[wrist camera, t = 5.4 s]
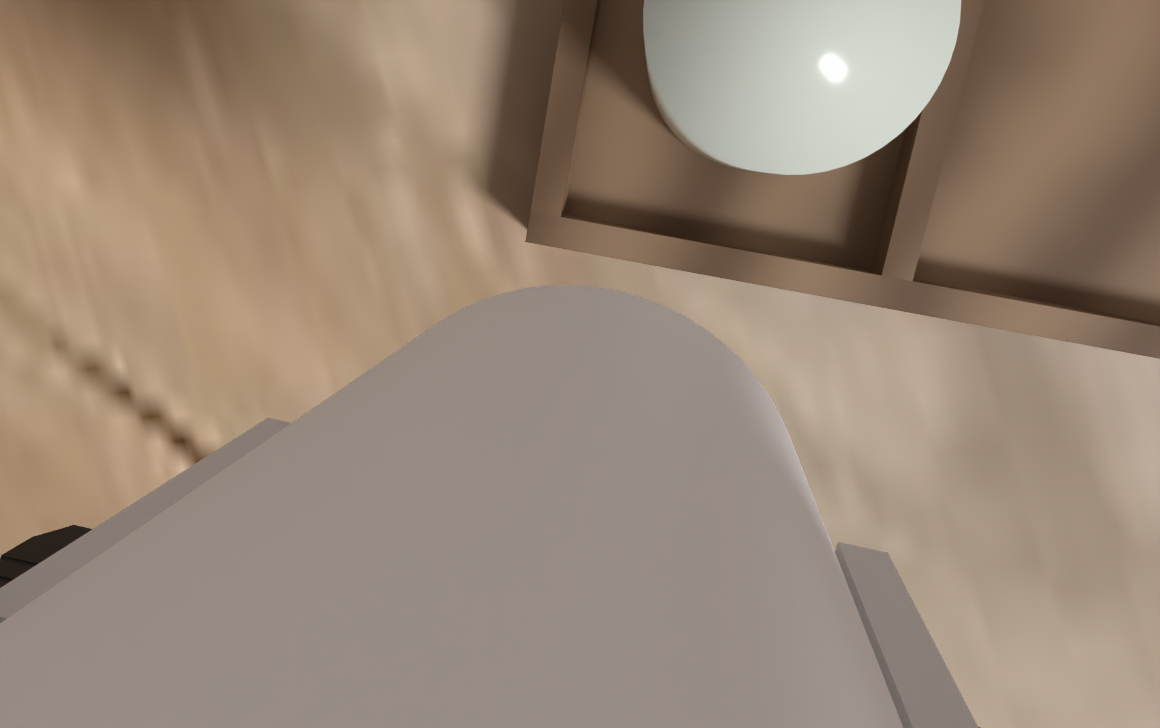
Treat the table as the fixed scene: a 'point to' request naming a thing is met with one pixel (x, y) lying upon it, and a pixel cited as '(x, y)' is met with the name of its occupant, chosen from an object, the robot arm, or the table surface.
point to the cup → (479, 553)
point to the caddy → (896, 179)
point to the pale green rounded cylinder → (794, 76)
